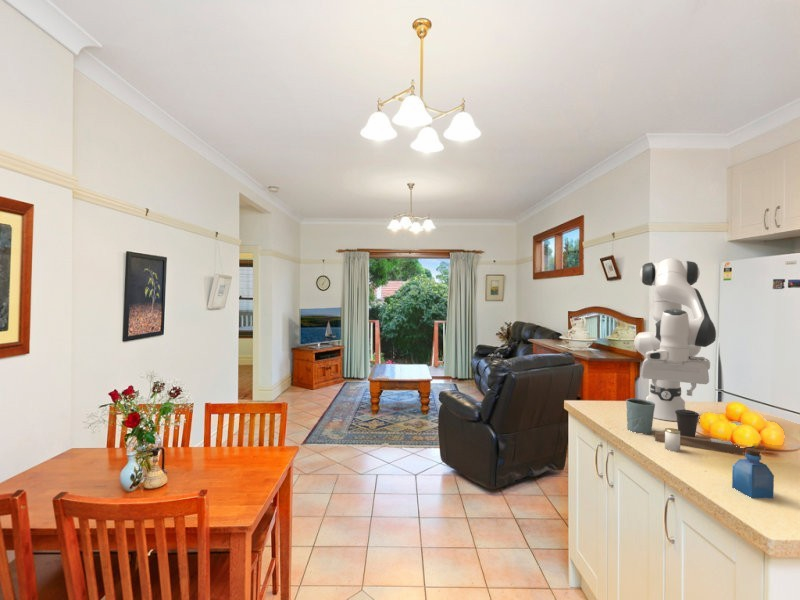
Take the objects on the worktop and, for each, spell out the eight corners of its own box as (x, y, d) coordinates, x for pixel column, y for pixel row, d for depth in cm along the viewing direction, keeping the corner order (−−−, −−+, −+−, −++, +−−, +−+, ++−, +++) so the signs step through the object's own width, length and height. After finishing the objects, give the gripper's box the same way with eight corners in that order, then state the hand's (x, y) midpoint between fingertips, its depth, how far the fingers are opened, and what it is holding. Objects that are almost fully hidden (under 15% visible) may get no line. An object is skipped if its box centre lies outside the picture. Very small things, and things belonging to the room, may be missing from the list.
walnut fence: (655, 439, 158) (655, 430, 158) (741, 453, 145) (742, 442, 145) (655, 441, 156) (655, 431, 156) (743, 455, 143) (743, 444, 143)
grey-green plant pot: (623, 425, 175) (624, 397, 175) (650, 428, 172) (651, 399, 171) (628, 433, 165) (629, 403, 165) (657, 436, 162) (658, 405, 162)
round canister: (664, 446, 151) (664, 427, 151) (679, 448, 148) (679, 429, 148) (665, 450, 147) (665, 430, 147) (680, 452, 145) (680, 432, 145)
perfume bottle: (753, 487, 118) (753, 446, 118) (773, 498, 112) (774, 454, 112) (732, 487, 118) (732, 445, 118) (751, 498, 112) (752, 454, 112)
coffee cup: (704, 439, 159) (705, 413, 159) (683, 439, 159) (684, 413, 159) (689, 432, 167) (690, 408, 167) (669, 432, 167) (670, 407, 167)
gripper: (708, 356, 145) (708, 395, 145) (641, 351, 155) (640, 388, 155) (711, 358, 140) (710, 399, 140) (641, 353, 150) (640, 391, 150)
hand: (673, 393), depth 147 cm, fingers open, 8 cm apart
